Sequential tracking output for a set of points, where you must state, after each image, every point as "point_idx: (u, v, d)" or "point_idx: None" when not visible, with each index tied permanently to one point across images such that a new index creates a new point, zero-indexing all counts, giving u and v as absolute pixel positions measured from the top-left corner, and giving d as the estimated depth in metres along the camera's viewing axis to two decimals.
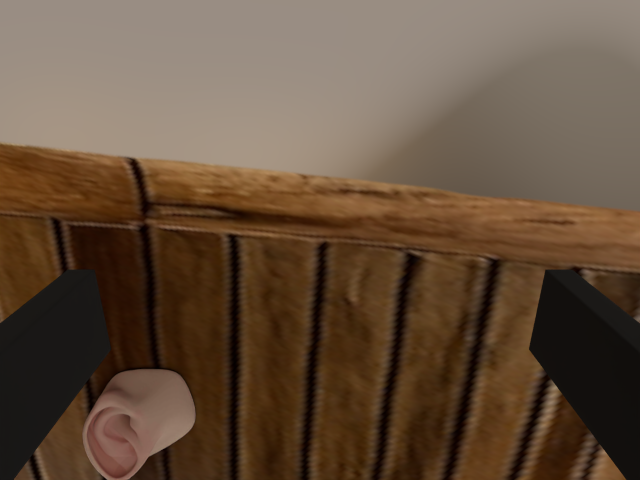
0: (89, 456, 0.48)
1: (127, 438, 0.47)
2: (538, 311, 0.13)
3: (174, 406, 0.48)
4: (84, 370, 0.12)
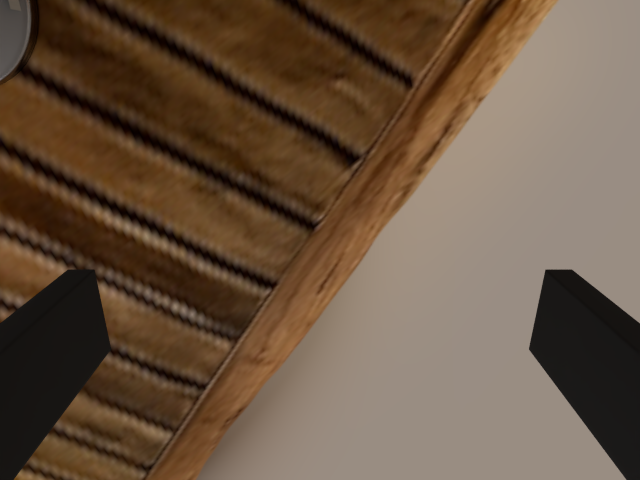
0: None
1: None
2: (538, 311, 0.13)
3: None
4: (84, 370, 0.12)
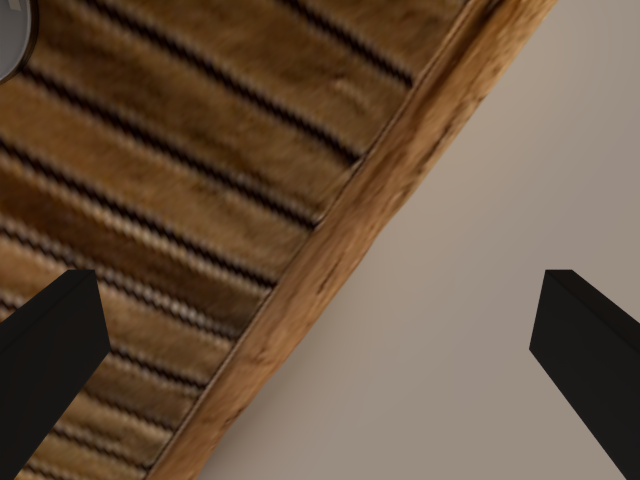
0: None
1: None
2: (538, 311, 0.13)
3: None
4: (84, 370, 0.12)
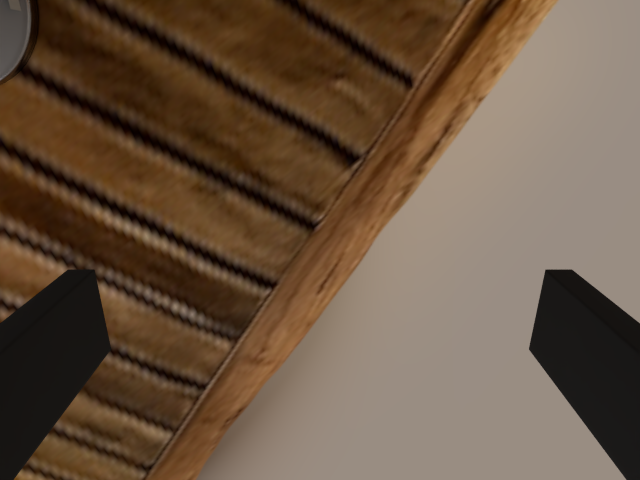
0: None
1: None
2: (538, 311, 0.13)
3: None
4: (84, 370, 0.12)
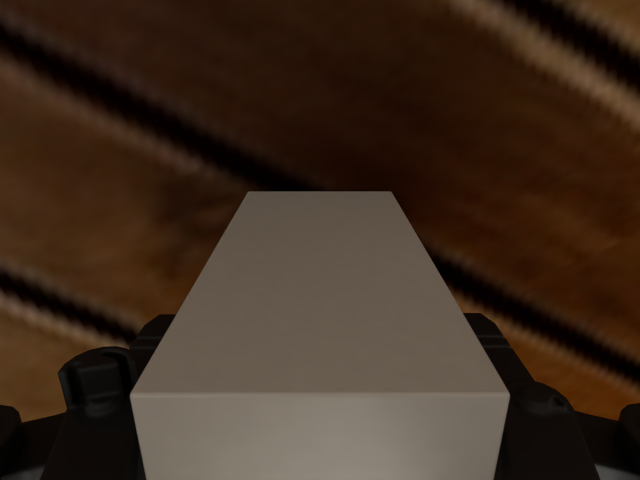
0: None
1: None
2: None
3: None
4: None
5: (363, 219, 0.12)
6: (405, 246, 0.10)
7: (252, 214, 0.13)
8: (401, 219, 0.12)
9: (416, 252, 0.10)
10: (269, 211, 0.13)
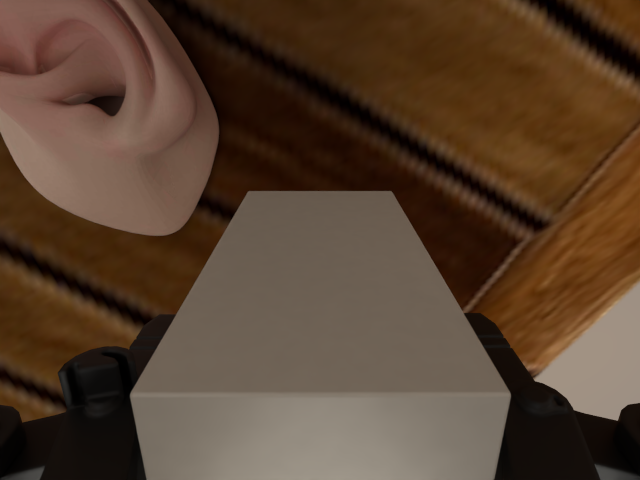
0: None
1: (49, 78, 0.18)
2: None
3: (100, 202, 0.22)
4: None
5: (363, 219, 0.12)
6: (405, 245, 0.10)
7: (252, 214, 0.13)
8: (401, 219, 0.12)
9: (417, 251, 0.10)
10: (270, 210, 0.13)
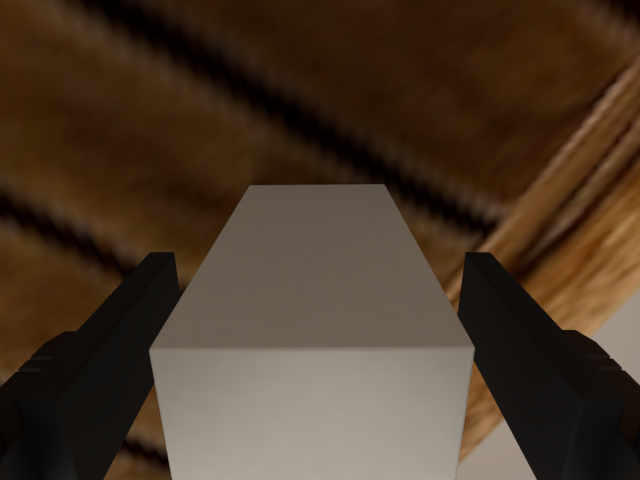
0: None
1: None
2: (461, 291, 0.14)
3: None
4: None
5: (356, 209, 0.13)
6: (393, 231, 0.11)
7: (253, 205, 0.14)
8: (392, 208, 0.13)
9: (403, 236, 0.11)
10: (269, 202, 0.14)
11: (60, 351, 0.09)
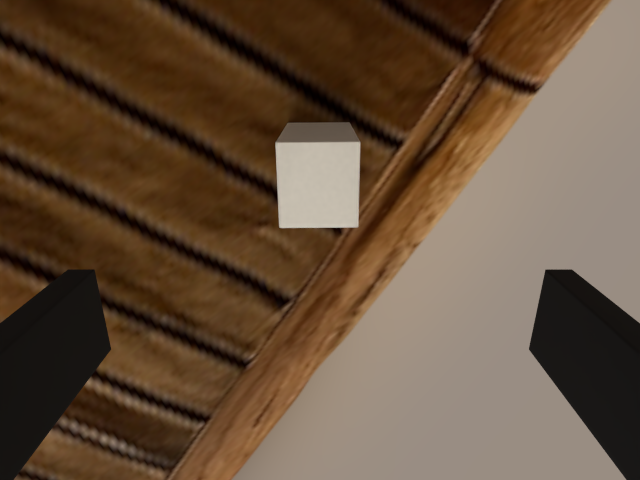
0: None
1: None
2: (538, 311, 0.13)
3: None
4: (84, 370, 0.12)
5: (334, 127, 0.32)
6: (347, 130, 0.30)
7: (292, 126, 0.32)
8: (349, 126, 0.32)
9: (350, 131, 0.30)
10: (298, 125, 0.33)
11: None
